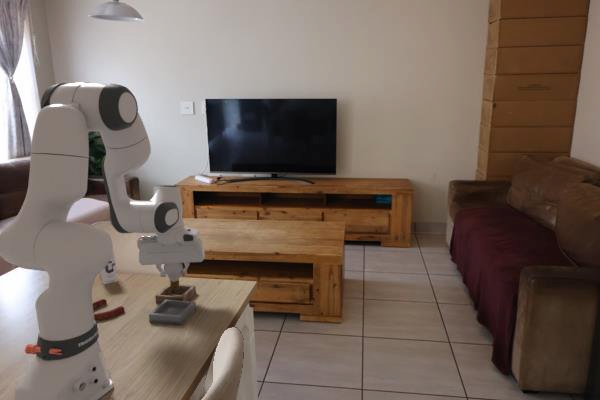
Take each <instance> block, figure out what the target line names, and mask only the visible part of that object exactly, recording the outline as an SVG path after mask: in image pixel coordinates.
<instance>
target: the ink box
mask: <svg viewBox="0 0 600 400" xmlns="http://www.w3.org/2000/svg"><path fill="white" fill-rule="evenodd" d="M98 275H99V278H100V280H101V282H102V284H103V285H108V284H113V283H117V282H118V274H117V266H116V257H115V251H114V249H113V252H112V256H111V259H110V261H109V263H108V264H107V266H106V267H105V268H104V269H103V270H102V271H100V272H99V273H98Z"/></svg>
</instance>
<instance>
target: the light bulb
mask: <svg viewBox="0 0 600 400" xmlns="http://www.w3.org/2000/svg"><path fill="white" fill-rule="evenodd" d="M183 264H184V263H174V262H171V263H168V264H163V265H164V266H163V270H164V271H165V273H166V276H167V277H168V279H169V282H170V283H169V284H171V287H173V288H176V287H177V286H179V285H180V277H181V275H182V273H181V271H182V270H183V269H184V265H183Z"/></svg>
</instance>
